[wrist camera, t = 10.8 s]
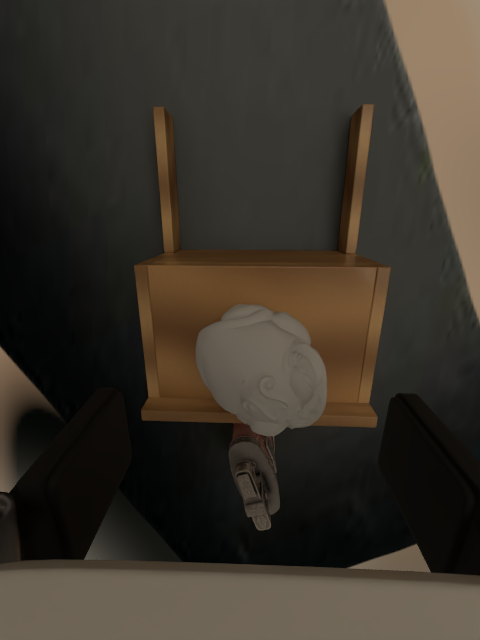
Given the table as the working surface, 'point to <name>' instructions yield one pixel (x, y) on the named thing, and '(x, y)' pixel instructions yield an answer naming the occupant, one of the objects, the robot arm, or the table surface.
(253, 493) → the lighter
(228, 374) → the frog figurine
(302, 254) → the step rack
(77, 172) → the table surface
